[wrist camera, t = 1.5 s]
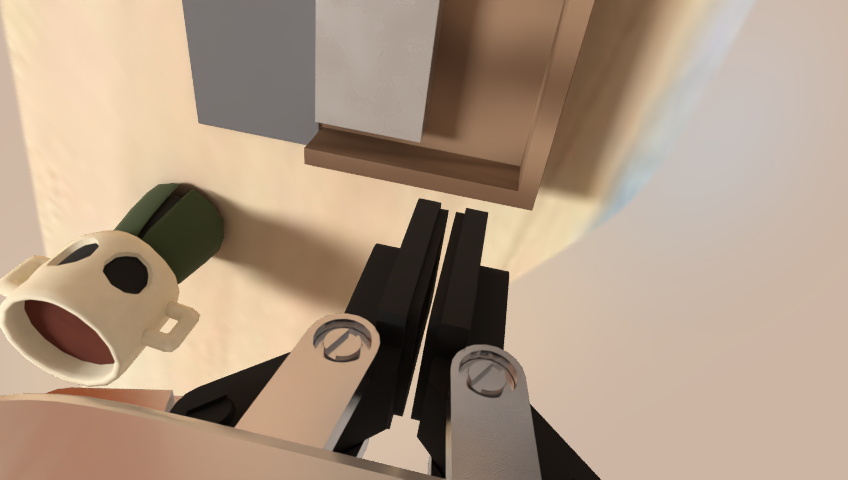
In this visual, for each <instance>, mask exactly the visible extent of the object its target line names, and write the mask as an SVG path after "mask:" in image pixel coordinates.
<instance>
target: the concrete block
mask: <svg viewBox="0 0 848 480" xmlns="http://www.w3.org/2000/svg"><path fill="white" fill-rule="evenodd" d="M444 1H445V0H316V41H315V122H319V123H324V124H329V125H334V126H339V127H344V128H349V129H354V130H359V131H364V132H369V133H374V134H379V135H384V136H389V137H394V138H399V139H404V140H409V141H414V142H419V143H420V142H421V140H422V138H423V136H424V133H425V131H426V129H427V122H428V115H429V108H430V101H431V94H432V87H433V80H434V73H435V65H436V58H437V51H438V44H439V37H440V30H441V23H442V16H443V8H444Z"/></svg>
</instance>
